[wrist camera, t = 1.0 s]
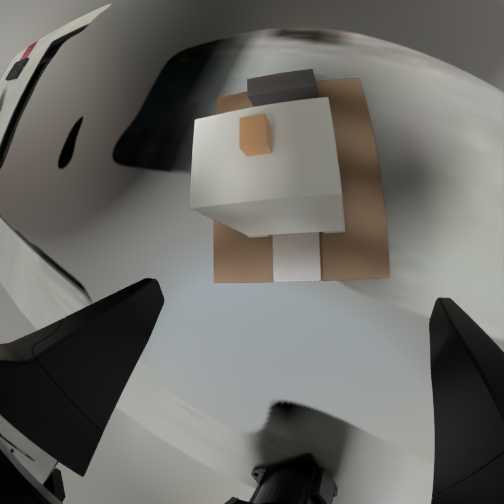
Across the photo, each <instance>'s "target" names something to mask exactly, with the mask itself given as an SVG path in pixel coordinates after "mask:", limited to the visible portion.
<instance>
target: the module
mask: <svg viewBox="0 0 504 504" xmlns="http://www.w3.org/2000/svg"><path fill="white" fill-rule="evenodd" d="M190 209H192V210H194V211H196V212H198V213H201V214H203V215H205V216H207V217H209V218H211V219H213V220H216V221H218V222H220V223H222V224H224V225H226V226H228V227H231V228H233V229H235V230H237V231H239V232H241V233H243V234H245V235H247V237H249V238H256V237H270V235H276V234H292V233H308V232H324V233H341V232H345V221H344V209H343V197H342V187H341V178H340V169H339V165H338V157H337V150H336V142H335V136H334V129H333V123H332V116H331V110H330V105H329V99H328V97H323V98H313V99H304V100H296V101H288V102H281V103H275V104H268V105H263V106H257V107H251V108H246V109H241V110H236V111H231V112H226V113H222V114H218V115H213V116H209V117H205V118H201V119H197V120H195V126H194V139H193V154H192V170H191V192H190Z"/></svg>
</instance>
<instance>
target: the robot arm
mask: <svg viewBox="0 0 504 504" xmlns="http://www.w3.org/2000/svg"><path fill="white" fill-rule="evenodd" d="M163 304H164V297H163V294H162V291H161V288H160V285H159V283H158V281H157V280H156V279H152V278H145V279H143V280H141V281H139V282H136V283H134V284H132V285H130V286H128V287H126V288H124V289H122V290H120V291H118V292H116V293H114V294H112V295H109V296H107V297H105V298H103V299H101V300H99V301H97V302H95V303H93V304H91V305H89V306H87V307H85V308H83V309H81V310H79V311H77V312H75V313H73V314H71V315H69V316H67V317H65V318H63V319H61V320H59V321H57V322H55V323H53V324H51V325H49V326H47V327H44V328H42V329H40V330H38V331H36V332H33V333H31V334H29V335H26V336H24V337H22V338H19V339H17V340H15V341H13V342H10V343H6V344H0V504H63V503H62V502H63V500H64V498H65V492H64V487H63V481H62V476H61V471H60V470H59V469H58V468H56V466H57V464H58V462H60V463H61V464H63V465H64V466H66V467H67V468H69V469H71V470H72V471H74V472H75V473H77V474H79V475H80V476H82V477H83V476H84V475H85V473H86V471H87V468H88V466H89V464H90V461H91V459H92V457H93V455H94V452H95V450H96V448H97V445H98V443H99V441H100V439H101V436H102V434H103V432H104V430H105V427H106V425H107V423H108V421H109V419H110V417H111V414H112V412H113V410H114V408H115V406H116V404H117V402H118V400H119V398H120V396H121V394H122V392H123V390H124V388H125V386H126V384H127V382H128V379H129V377H130V375H131V373H132V372H133V370H134V368H135V366H136V364H137V362H138V360H139V358H140V356H141V354H142V352H143V350H144V348H145V346H146V344H147V342H148V340H149V338H150V336H151V333H152V331H153V328H154V326H155V323H156V321H157V319H158V316H159V314H160V311H161V309H162V306H163ZM429 332H430V355H431V356H430V357H431V358H430V359H431V361H430V362H431V380H432V390H433V404H434V425H435V461H434V480H433V492H432V501H431V504H504V352H503V351H502V350H501V349H500V348H499V347H498V345H497V344H496V343H495V342H494V341H493V340H492V339H491V338H490V337H489V336H488V335H487V334H486V333H485V332H484V331H483V330H482V329H481V328H480V327H479V326H478V325H477V324H476V323H475V322H474V321H473V320H472V319H471V318H470V317H469V316H468V315H467V314H466V313H465V312H464V311H463V310H462V309H461V308H460V307H459V306H458V305H457V304H456V303H455V302H454V301H453V300H452V299H450V298H438V299H437V300H436V302H435V305H434V308H433V311H432V314H431V317H430V322H429ZM306 457H309V458H310V459H306ZM256 473H258V474H256ZM251 474H252V476H253V477H254V479H255V480H256V481H257V483H258V484H259V485H258V486H257V488H256V490H255V492H254V494H253V496H252V497H251V499H250V501H249V502H246V501H242V500H239V499H238V498H235V497H232V498H231V499H230V500H229V501H227V502H226V503H225V504H332V499H333V497H335V496H336V495H337V490H336V488H335V487H334V485H335V483H334V482H333V480H332V479H331V477H330V476H329V474H328V473H327V471H326V470H325V468H323V467H320V465H319V464H318V462H317V461H316V459H315V458H314V456H313V455H312V454H310V453H305V454H302V455H299V456H296V457H293V458H290V459H287V460H284V461H281V462H278V463H274V464H271V465H268V466H264V467H260V468H257V469H254V470H253V471H252V473H251Z"/></svg>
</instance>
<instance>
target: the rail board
mask: <svg viewBox="0 0 504 504" xmlns="http://www.w3.org/2000/svg"><path fill="white" fill-rule="evenodd" d="M247 90H248V92H244V93H239V94H234V95H230V96H226V97H221V98H218V101H217V115H218V114H222V113H226V112H231V111H236V110H241V109H246V108H251V107H257V106H263V105H268V104H275V103H281V102H288V101H296V100H304V99H313V98H323V97H328V99H329V105H330V110H331V116H332V123H333V129H334V136H335V142H336V150H337V157H338V165H339V169H340V178H341V187H342V197H343V209H344V221H345V232H341V233H324V232H308V233H292V234H276V235H270V237H256V238H249V237H247V235H245V234H243V233H241V232H239V231H237V230H235V229H233V228H231V227H228V226H226V225H224V224H222V223H220V222H218V221H216V220H214V283H257V282H258V283H259V282H300V281H331V280H355V279H376V278H390V269H389V249H388V235H387V224H386V214H385V205H384V196H383V189H382V181H381V175H380V168H379V162H378V156H377V151H376V145H375V140H374V135H373V130H372V126H371V121H370V117H369V112H368V108H367V104H366V100H365V96H364V92H363V89H362V85H361V81H360V78H351V79H336V80H324V81H315V77H314V73H313V69H308V70H300V71H293V72H286V73H279V74H273V75H268V76H262V77H257V78H252V79H247Z"/></svg>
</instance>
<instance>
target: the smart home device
mask: <svg viewBox="0 0 504 504" xmlns="http://www.w3.org/2000/svg"><path fill="white" fill-rule="evenodd" d="M28 60H29V59H28V58H25V59H23V60H20V61H18V62H16V63H15V64H14V66H13V67H12V69H11V71H10V72H9V74H8V76H7V77H6V79H5V80H7V81H8V80H12V79H17V78H18V76H19V75H20V73H21V71H22V70H23V68H24V67H25V65H26V63H27V62H28Z"/></svg>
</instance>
